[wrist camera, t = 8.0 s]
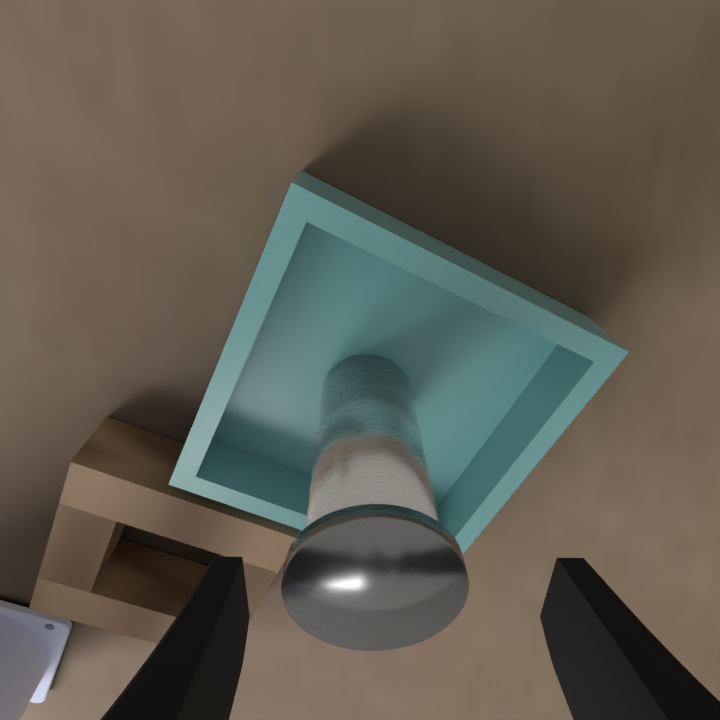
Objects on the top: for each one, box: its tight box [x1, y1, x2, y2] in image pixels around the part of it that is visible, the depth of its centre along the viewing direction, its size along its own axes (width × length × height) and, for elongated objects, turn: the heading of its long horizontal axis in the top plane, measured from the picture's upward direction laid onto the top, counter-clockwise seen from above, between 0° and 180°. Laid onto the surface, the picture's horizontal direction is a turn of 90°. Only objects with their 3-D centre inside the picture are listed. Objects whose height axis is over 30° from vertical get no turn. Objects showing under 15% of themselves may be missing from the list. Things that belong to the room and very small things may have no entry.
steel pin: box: [281, 354, 469, 651], centre depth 16 cm, size 4×4×9 cm
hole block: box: [29, 416, 299, 644], centre depth 22 cm, size 9×9×3 cm
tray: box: [168, 171, 629, 555], centre depth 19 cm, size 12×12×3 cm
